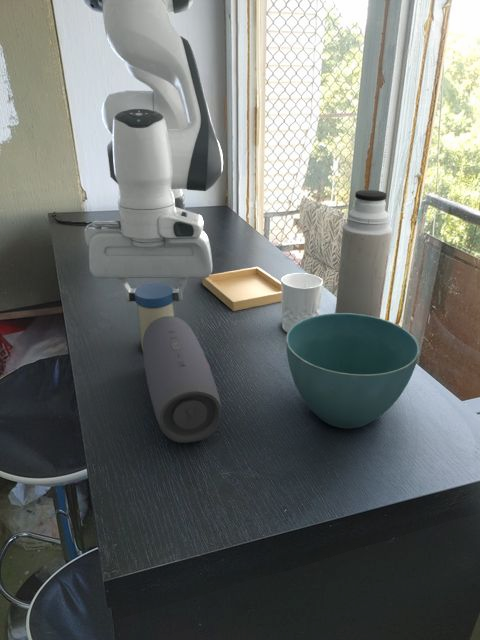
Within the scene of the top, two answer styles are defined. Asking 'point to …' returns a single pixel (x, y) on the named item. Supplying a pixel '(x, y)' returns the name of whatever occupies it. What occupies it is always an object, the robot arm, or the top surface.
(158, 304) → the jar lid
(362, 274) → the thermos bottle
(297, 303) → the white cup
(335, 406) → the teal bowl
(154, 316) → the jar
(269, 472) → the top surface
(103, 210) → the top surface
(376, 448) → the top surface
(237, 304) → the tray
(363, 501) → the top surface
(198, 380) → the bluetooth speaker
